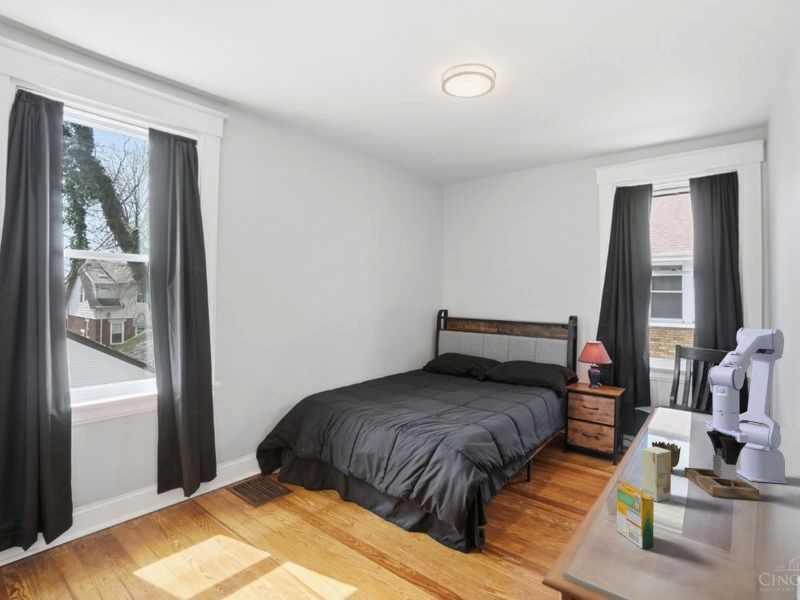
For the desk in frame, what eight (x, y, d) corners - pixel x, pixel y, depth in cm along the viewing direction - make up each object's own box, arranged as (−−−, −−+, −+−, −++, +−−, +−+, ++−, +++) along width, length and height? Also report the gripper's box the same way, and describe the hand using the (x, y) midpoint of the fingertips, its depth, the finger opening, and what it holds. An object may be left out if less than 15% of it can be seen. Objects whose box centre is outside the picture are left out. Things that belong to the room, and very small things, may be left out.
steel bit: (727, 473, 114) (727, 448, 114) (736, 479, 111) (735, 452, 111) (713, 473, 115) (712, 447, 115) (721, 478, 111) (720, 451, 111)
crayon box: (654, 548, 85) (654, 490, 85) (641, 549, 84) (642, 491, 84) (627, 529, 92) (627, 476, 92) (616, 530, 91) (616, 477, 92)
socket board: (725, 478, 122) (725, 470, 122) (759, 500, 108) (759, 490, 108) (684, 475, 123) (684, 467, 123) (712, 496, 109) (712, 486, 109)
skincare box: (657, 502, 105) (657, 453, 106) (640, 495, 109) (640, 448, 109) (672, 498, 108) (671, 450, 109) (655, 491, 112) (655, 445, 112)
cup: (685, 477, 122) (685, 449, 123) (657, 474, 124) (657, 447, 124) (674, 467, 130) (674, 442, 130) (648, 465, 131) (648, 440, 131)
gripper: (695, 404, 121) (695, 451, 120) (726, 416, 107) (726, 470, 106) (721, 405, 120) (722, 453, 119) (757, 418, 105) (757, 472, 105)
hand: (726, 461), depth 113 cm, fingers closed on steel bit, 4 cm apart
